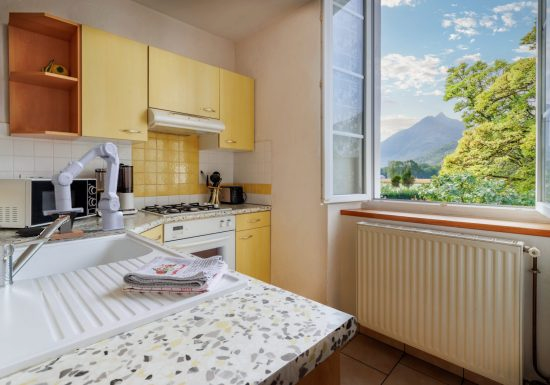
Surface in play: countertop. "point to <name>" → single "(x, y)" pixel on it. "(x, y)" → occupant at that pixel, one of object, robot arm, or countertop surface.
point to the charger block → (65, 228)
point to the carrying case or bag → (30, 231)
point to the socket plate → (68, 234)
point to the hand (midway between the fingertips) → (65, 229)
